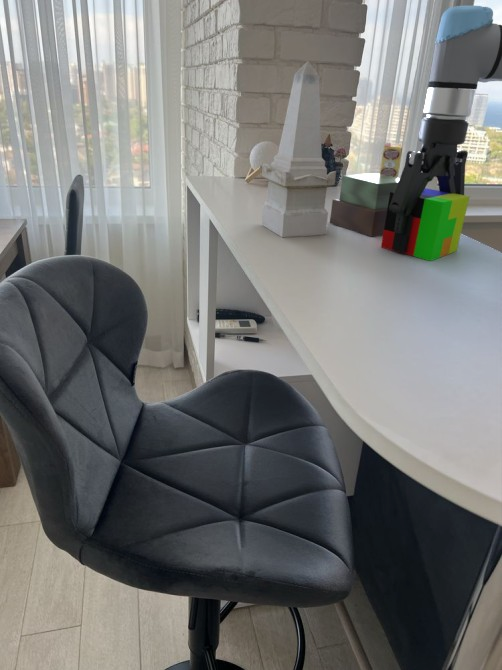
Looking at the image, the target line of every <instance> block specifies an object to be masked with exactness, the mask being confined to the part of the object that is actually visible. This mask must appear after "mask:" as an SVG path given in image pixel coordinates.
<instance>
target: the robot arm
mask: <svg viewBox="0 0 502 670" xmlns="http://www.w3.org/2000/svg"><path fill="white" fill-rule="evenodd" d="M493 21H494V11H493V9H492V8H491V7H489V6H482V5H456V6H455V5H454V6H451V7H449V8H447V9H446V10H445V11H444V12H443V13H442V15H441V18H440V23H439V25H438V30H437V34H436V38H435V40H434V50H433V55H432V62H431V69H430V74H429V81H428V84H427V91H426V95H425V101H424V107H423V111H422V112H423V114H424V115H426V116H425V117H423V118H422V119H421V121H420V127H419V132H418V137H417V138H418V141H419V142H421V148H420V150H419V151H411V150H408V151H407V153H406V156H405V162H404V167H403V169H402V172H401V174H400V177H399V178H400V179H399V182H398V185H397V187H396V190H395V192H394V195H393V198H392V200H391V203H390V205H389V210H392V212H395V213H396V214H397V216H396V222H395V228H394V232H395V234H394V239H393V245H392V249H393V250H396V251H395V252H397V251H399V252H398V253H400V252H402V253H401V254H404V253H406V252H407V247H408V242H409V236H410V231H411V226H412V221H413V216H412V215H410V214H411V212H412V210H413V208H414V207H415V205H416V203H417V200H418V197H420V196H421V194H422V192H423V191H424V189H425V188H427V185H428V184H429V183H430V182H432V181H433V180H434V178H436V179H437V185H438V191H441V192H445V193H450V194H453V193H454V194H460V195H465V186H466V185H465V183H466V165H467V164H466V163H467V159H468V155H469V152H468V150H463V149H458V145H459V146H460V145H463V144H464V143H465V142H466V137H467V133H468V130H469V129H468V128H469V124H470V123H469V121H468V120H467V118H469V117H470V116H472V112H473V107H474V103H475V97H476V93H477V89H478V83H488V82H502V24H498V23H493ZM397 203H398V204H397ZM406 205H407V208H406ZM393 250H392V251H393Z"/></svg>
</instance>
